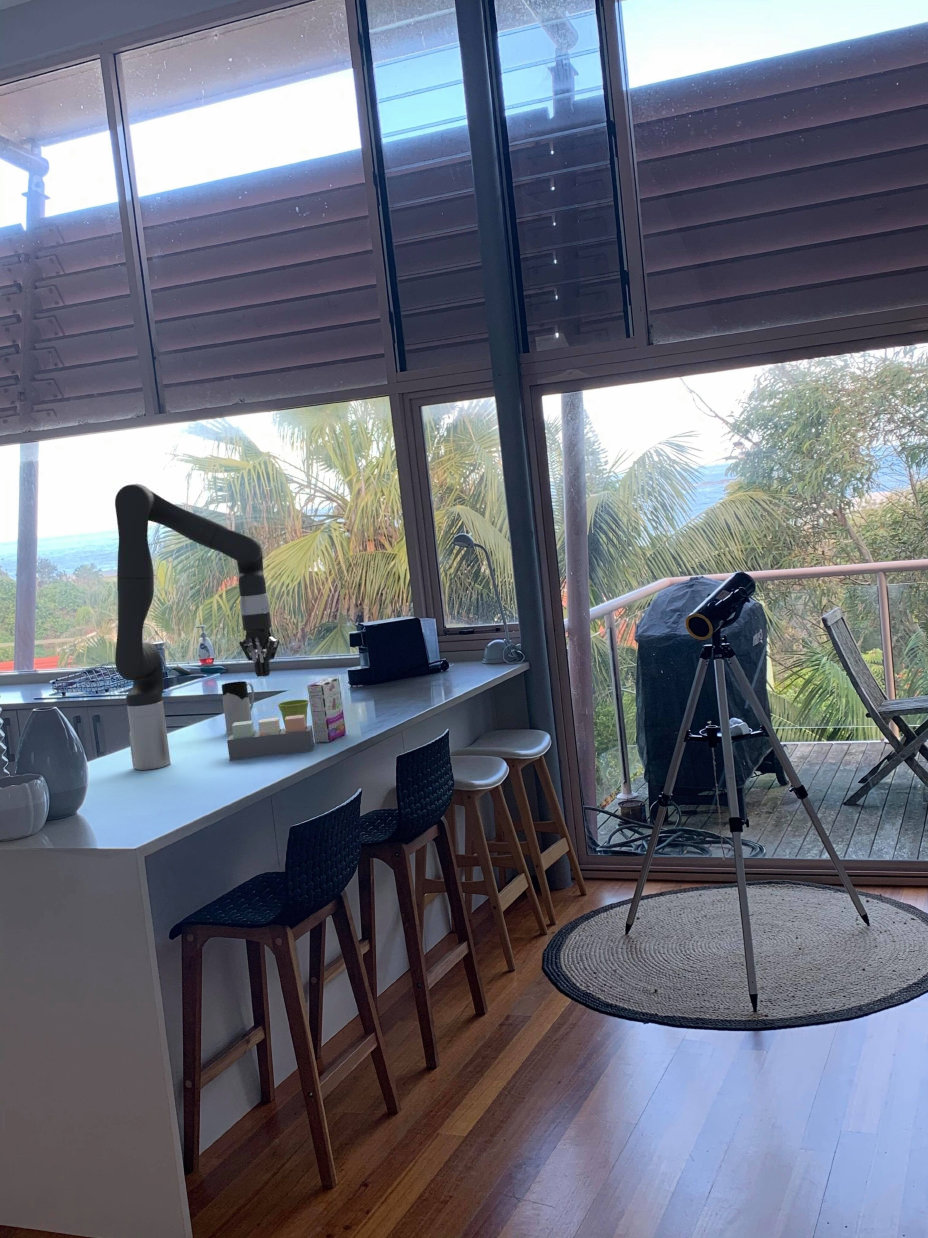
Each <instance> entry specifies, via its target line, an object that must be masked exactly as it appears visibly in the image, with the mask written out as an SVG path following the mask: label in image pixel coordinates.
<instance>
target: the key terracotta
mask: <svg viewBox="0 0 928 1238" xmlns="http://www.w3.org/2000/svg"><path fill="white" fill-rule="evenodd" d="M285 727H286V733H288V732H296V731H305V730H306V723H305V714H304V715H295V716H286V718H285V726H284V728H285Z"/></svg>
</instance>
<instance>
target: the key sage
mask: <svg viewBox="0 0 928 1238" xmlns="http://www.w3.org/2000/svg"><path fill="white" fill-rule="evenodd" d="M232 731H233V739H236V738H245V737H253V736H254V732H255V728H254V720H253V719H252V721H243V722H235V723H234V724H233V725H232Z"/></svg>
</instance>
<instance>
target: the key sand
mask: <svg viewBox="0 0 928 1238" xmlns="http://www.w3.org/2000/svg"><path fill="white" fill-rule="evenodd" d="M257 724H258V732H259V733H260V734H267V735H271V733H275V732H278V733H280V729H281V727H280V726H281V725H280V717H279V716H278V717H271V718H262V719H259V720H258V723H257Z"/></svg>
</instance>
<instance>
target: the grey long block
mask: <svg viewBox="0 0 928 1238" xmlns="http://www.w3.org/2000/svg"><path fill="white" fill-rule="evenodd" d="M226 742H227V750H228V757H229V761H231V762H232V761H238V760H248V759H254V758H256V759H257V758H263V757H272V756H281V755H290V754H297V753H306V752H313V751H314V748H315V738H314V731H313V724H311V725H307V726H306V730H305V731H296V732H288V733H286V729H285V728H280V733H278V732H275V733H271V735H267V734H260V733H259V731H254V736H253V737H245V738H236V739H233V735H229V737H228V739H227V741H226Z"/></svg>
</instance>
